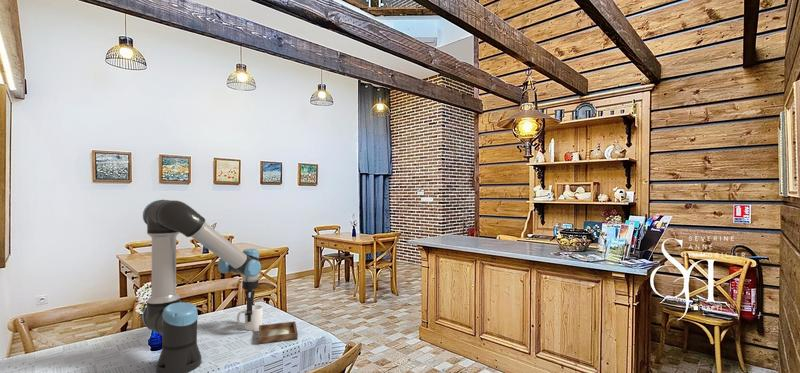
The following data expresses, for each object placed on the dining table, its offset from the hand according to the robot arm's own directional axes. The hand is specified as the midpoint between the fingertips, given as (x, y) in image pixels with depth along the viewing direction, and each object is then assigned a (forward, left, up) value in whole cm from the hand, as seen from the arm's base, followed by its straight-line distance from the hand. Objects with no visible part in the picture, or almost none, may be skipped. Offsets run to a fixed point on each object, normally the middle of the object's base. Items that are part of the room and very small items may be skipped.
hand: (249, 323), depth 184 cm
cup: (0, 0, -3) cm, 3 cm away
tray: (+13, -14, -2) cm, 19 cm away
